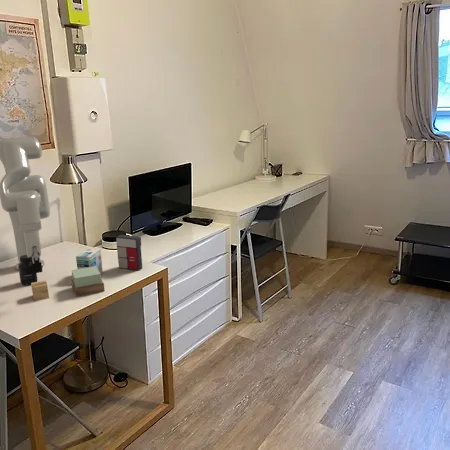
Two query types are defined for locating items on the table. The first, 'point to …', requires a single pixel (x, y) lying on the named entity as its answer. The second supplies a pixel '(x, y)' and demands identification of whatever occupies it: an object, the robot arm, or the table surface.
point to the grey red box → (129, 252)
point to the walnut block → (88, 289)
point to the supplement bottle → (26, 271)
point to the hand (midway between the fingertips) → (37, 268)
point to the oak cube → (40, 290)
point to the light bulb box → (89, 259)
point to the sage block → (86, 276)
